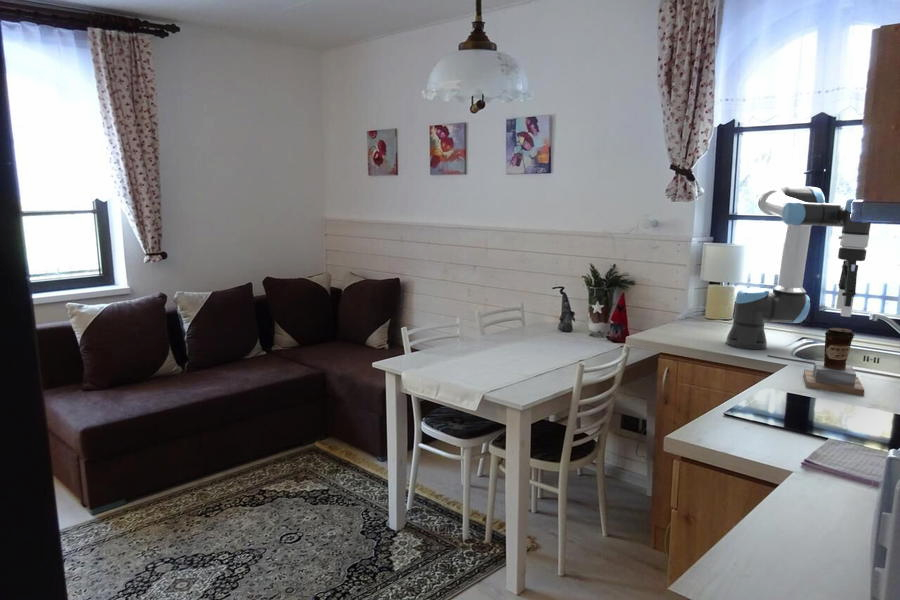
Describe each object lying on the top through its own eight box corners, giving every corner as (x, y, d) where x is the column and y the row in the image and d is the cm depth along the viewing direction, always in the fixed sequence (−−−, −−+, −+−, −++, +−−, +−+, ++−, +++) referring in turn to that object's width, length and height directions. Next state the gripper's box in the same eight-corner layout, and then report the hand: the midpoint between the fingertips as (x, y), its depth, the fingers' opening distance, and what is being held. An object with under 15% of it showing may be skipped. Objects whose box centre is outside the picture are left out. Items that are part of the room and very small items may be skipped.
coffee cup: (853, 372, 209) (859, 333, 207) (825, 370, 211) (831, 331, 209) (843, 365, 218) (849, 327, 215) (816, 363, 219) (822, 325, 217)
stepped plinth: (803, 374, 226) (805, 358, 225) (856, 382, 220) (859, 365, 218) (806, 387, 212) (809, 369, 211) (863, 396, 205) (866, 377, 204)
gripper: (835, 243, 220) (826, 304, 224) (844, 250, 198) (833, 317, 202) (861, 245, 217) (851, 307, 221) (872, 252, 194) (861, 320, 198)
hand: (843, 312), depth 211 cm, fingers open, 13 cm apart
